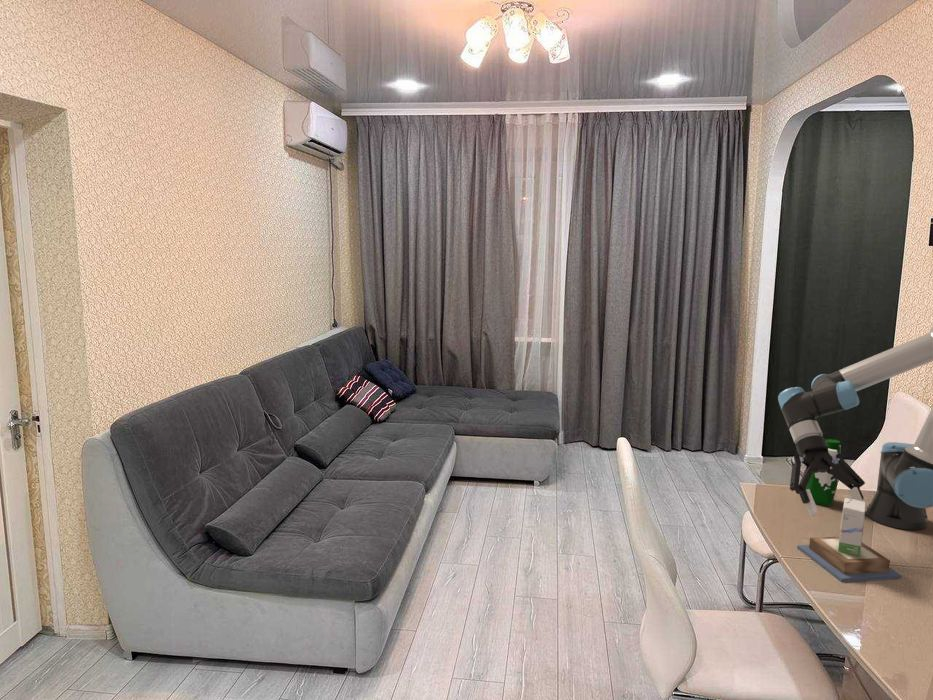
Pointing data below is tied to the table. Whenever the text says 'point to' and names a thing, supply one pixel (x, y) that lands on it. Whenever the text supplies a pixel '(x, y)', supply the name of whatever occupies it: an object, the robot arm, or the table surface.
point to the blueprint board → (847, 577)
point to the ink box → (852, 526)
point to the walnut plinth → (849, 557)
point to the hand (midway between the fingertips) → (838, 513)
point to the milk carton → (824, 479)
